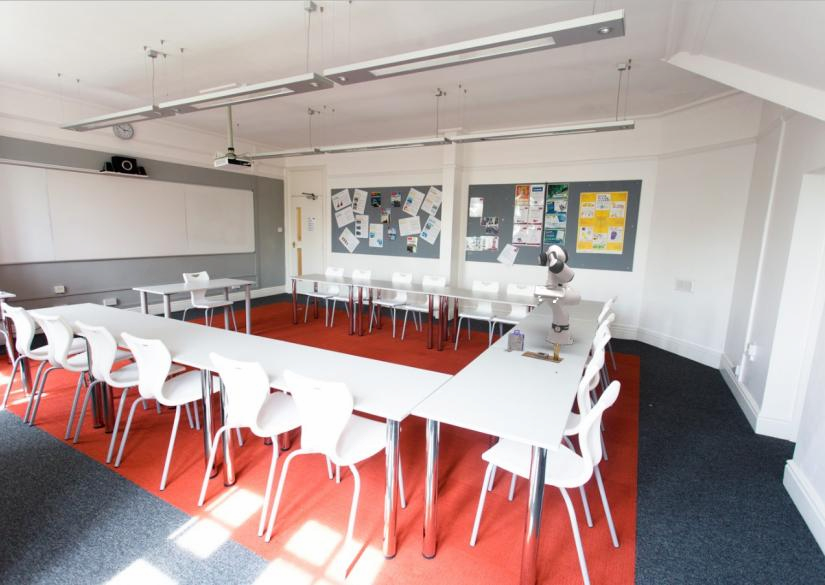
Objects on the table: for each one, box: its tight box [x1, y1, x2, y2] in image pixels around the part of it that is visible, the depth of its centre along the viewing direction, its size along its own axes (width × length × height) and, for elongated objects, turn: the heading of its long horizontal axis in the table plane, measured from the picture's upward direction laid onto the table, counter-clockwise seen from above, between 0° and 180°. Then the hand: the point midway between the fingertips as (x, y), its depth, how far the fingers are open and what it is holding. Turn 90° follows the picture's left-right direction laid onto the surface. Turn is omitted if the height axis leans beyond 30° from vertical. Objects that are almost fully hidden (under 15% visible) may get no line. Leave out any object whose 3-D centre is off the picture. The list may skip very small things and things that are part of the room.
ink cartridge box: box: [506, 329, 525, 352], centre depth 271 cm, size 10×6×14 cm, turn 63°
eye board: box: [520, 350, 565, 364], centre depth 257 cm, size 12×24×4 cm, turn 54°
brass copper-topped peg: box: [553, 344, 561, 360], centre depth 251 cm, size 3×3×10 cm
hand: (547, 302), depth 266 cm, fingers open, 8 cm apart
